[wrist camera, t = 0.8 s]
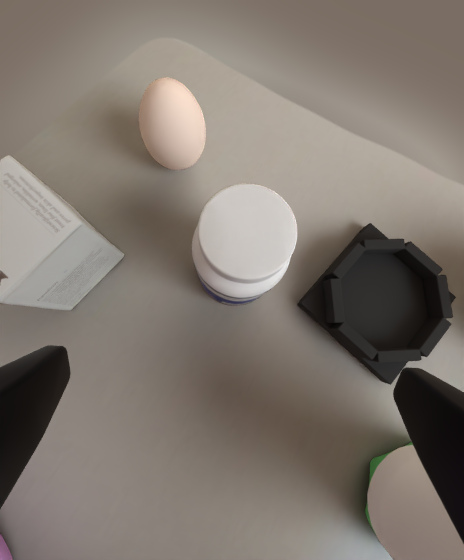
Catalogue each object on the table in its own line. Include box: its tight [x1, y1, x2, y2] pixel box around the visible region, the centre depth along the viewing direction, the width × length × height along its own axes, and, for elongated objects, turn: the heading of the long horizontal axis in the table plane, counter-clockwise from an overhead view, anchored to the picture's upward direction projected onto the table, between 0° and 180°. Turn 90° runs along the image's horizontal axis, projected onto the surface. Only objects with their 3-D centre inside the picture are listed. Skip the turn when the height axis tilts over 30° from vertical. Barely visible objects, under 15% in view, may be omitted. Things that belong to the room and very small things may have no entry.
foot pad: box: [298, 223, 456, 384], centre depth 22 cm, size 9×9×2 cm
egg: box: [139, 77, 206, 170], centre depth 20 cm, size 5×5×7 cm
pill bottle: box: [192, 183, 297, 306], centre depth 18 cm, size 6×6×10 cm
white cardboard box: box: [0, 155, 124, 311], centre depth 18 cm, size 6×6×7 cm
